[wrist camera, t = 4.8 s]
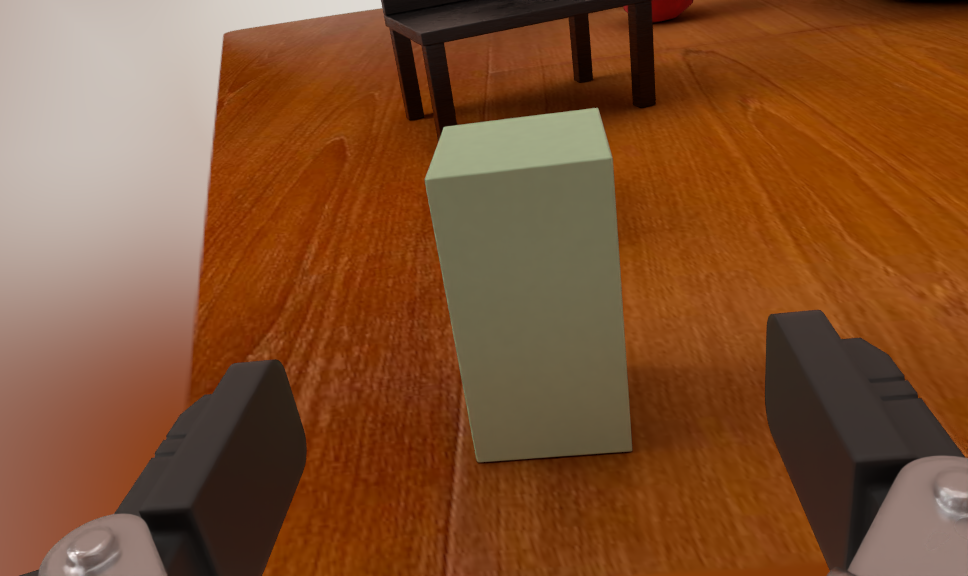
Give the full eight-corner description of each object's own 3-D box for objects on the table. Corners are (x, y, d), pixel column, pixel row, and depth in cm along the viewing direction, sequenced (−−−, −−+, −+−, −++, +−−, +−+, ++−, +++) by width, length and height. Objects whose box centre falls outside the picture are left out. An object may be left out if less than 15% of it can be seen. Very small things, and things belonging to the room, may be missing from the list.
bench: (441, 155, 51) (414, -1, 46) (403, 117, 61) (378, -14, 57) (660, 104, 54) (654, -46, 50) (588, 76, 65) (578, -50, 60)
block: (476, 463, 23) (424, 178, 19) (485, 376, 27) (443, 126, 23) (632, 452, 23) (613, 156, 18) (617, 364, 27) (598, 107, 23)
